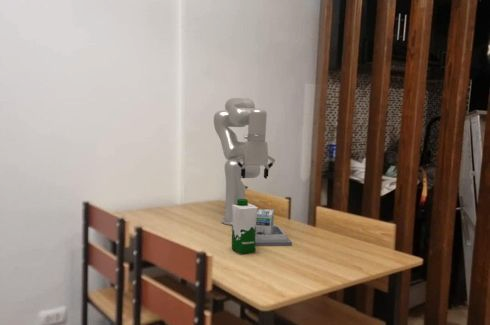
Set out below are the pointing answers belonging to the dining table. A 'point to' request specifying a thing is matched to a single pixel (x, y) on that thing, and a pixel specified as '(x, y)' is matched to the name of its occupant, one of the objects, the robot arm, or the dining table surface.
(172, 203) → the dining table surface
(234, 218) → the milk carton
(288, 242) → the dock board
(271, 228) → the light bulb box
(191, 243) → the dining table surface
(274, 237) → the aluminium frame
